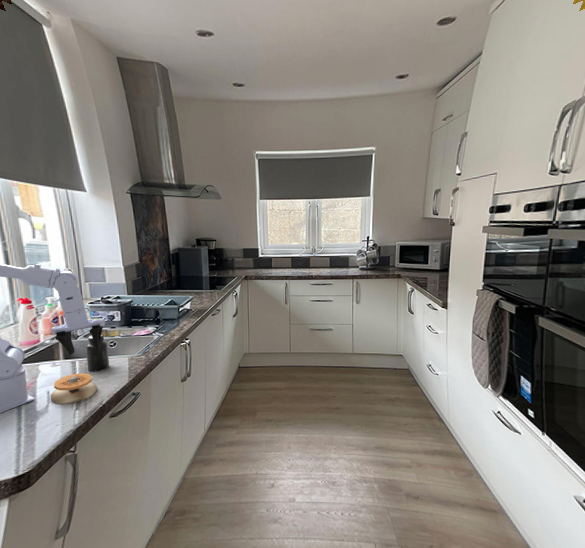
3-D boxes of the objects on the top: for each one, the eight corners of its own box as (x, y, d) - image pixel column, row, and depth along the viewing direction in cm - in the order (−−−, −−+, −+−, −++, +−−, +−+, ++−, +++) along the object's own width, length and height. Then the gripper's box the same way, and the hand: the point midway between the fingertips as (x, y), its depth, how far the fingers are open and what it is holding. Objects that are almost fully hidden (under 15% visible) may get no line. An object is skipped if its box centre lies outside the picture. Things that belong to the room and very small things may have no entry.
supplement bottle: (104, 362, 130) (102, 331, 128) (112, 367, 125) (110, 335, 124) (84, 368, 124) (81, 336, 123) (92, 373, 120) (89, 340, 118)
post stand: (64, 408, 98) (63, 391, 97) (42, 397, 104) (41, 381, 103) (105, 390, 108) (104, 375, 108) (82, 381, 114) (81, 367, 113)
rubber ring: (65, 393, 99) (65, 390, 99) (48, 385, 104) (47, 382, 104) (98, 380, 107) (98, 378, 107) (80, 373, 112) (80, 371, 112)
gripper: (103, 302, 110) (113, 341, 113) (53, 310, 107) (65, 350, 110) (96, 308, 103) (107, 350, 106) (42, 317, 100) (55, 360, 104)
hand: (85, 350), depth 108 cm, fingers open, 7 cm apart
